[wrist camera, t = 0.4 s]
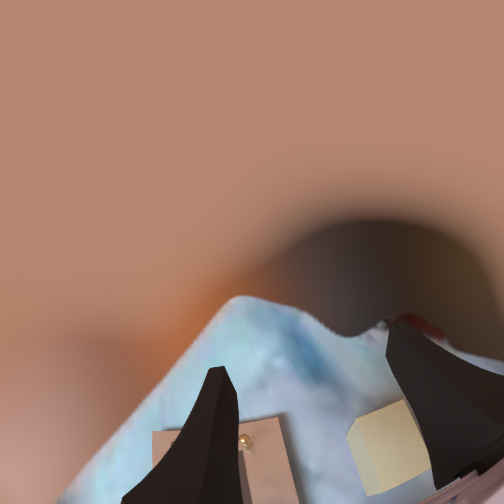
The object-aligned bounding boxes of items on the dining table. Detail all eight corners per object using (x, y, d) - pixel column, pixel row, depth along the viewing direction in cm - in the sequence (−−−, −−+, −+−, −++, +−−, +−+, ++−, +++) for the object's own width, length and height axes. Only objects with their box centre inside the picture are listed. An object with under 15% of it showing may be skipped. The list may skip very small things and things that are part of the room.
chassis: (308, 539, 13) (310, 544, 11) (165, 548, 12) (147, 550, 10) (278, 421, 26) (276, 408, 23) (157, 435, 25) (142, 423, 23)
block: (409, 476, 16) (434, 465, 13) (366, 496, 16) (383, 492, 13) (386, 420, 23) (403, 398, 20) (345, 436, 23) (356, 418, 19)
